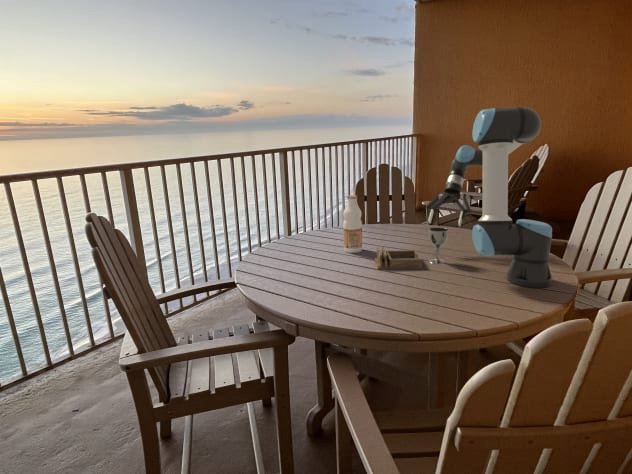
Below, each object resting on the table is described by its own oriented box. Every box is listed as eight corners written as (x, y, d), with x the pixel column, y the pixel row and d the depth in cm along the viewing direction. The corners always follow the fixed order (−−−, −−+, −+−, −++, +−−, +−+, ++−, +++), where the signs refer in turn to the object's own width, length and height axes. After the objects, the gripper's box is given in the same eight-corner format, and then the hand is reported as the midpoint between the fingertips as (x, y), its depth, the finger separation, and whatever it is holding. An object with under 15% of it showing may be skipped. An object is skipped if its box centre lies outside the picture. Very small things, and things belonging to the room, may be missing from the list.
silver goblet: (444, 258, 175) (445, 227, 171) (448, 264, 167) (450, 231, 163) (426, 258, 175) (427, 227, 172) (429, 264, 168) (431, 231, 164)
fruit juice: (339, 250, 193) (338, 196, 186) (352, 246, 199) (351, 193, 192) (353, 254, 186) (353, 197, 179) (366, 250, 192) (365, 195, 185)
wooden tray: (422, 268, 163) (422, 255, 161) (378, 269, 164) (378, 256, 162) (415, 258, 176) (416, 246, 175) (374, 259, 178) (374, 247, 176)
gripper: (482, 192, 180) (473, 230, 171) (429, 190, 193) (419, 225, 185) (480, 182, 174) (471, 221, 166) (426, 181, 187) (415, 216, 179)
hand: (443, 223), depth 175 cm, fingers open, 13 cm apart
